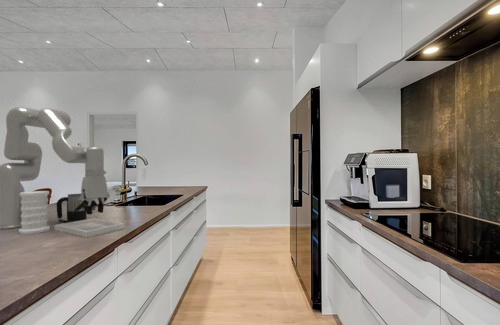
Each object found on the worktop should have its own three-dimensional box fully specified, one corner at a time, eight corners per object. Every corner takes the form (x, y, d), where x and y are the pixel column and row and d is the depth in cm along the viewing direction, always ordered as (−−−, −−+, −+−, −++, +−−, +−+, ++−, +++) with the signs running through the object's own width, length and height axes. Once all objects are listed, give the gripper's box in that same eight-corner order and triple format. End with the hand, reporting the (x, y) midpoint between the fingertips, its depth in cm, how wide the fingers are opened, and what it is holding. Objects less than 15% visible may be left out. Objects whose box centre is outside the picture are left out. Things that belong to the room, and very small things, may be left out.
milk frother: (85, 219, 156) (85, 192, 156) (92, 223, 145) (92, 195, 145) (54, 223, 147) (54, 194, 147) (59, 228, 135) (59, 197, 135)
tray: (54, 230, 130) (54, 225, 130) (92, 223, 146) (92, 218, 146) (86, 237, 117) (86, 231, 117) (124, 228, 133) (124, 223, 133)
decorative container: (47, 226, 138) (47, 190, 138) (52, 230, 129) (52, 192, 129) (17, 231, 129) (17, 192, 129) (20, 235, 121) (20, 194, 121)
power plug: (75, 210, 134) (94, 196, 134) (84, 223, 134) (103, 209, 133) (66, 212, 129) (87, 197, 128) (76, 226, 128) (96, 211, 128)
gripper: (107, 173, 139) (107, 210, 139) (71, 174, 124) (71, 215, 124) (116, 173, 135) (116, 211, 135) (80, 174, 120) (80, 217, 120)
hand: (94, 212), depth 129 cm, fingers closed on power plug, 4 cm apart
